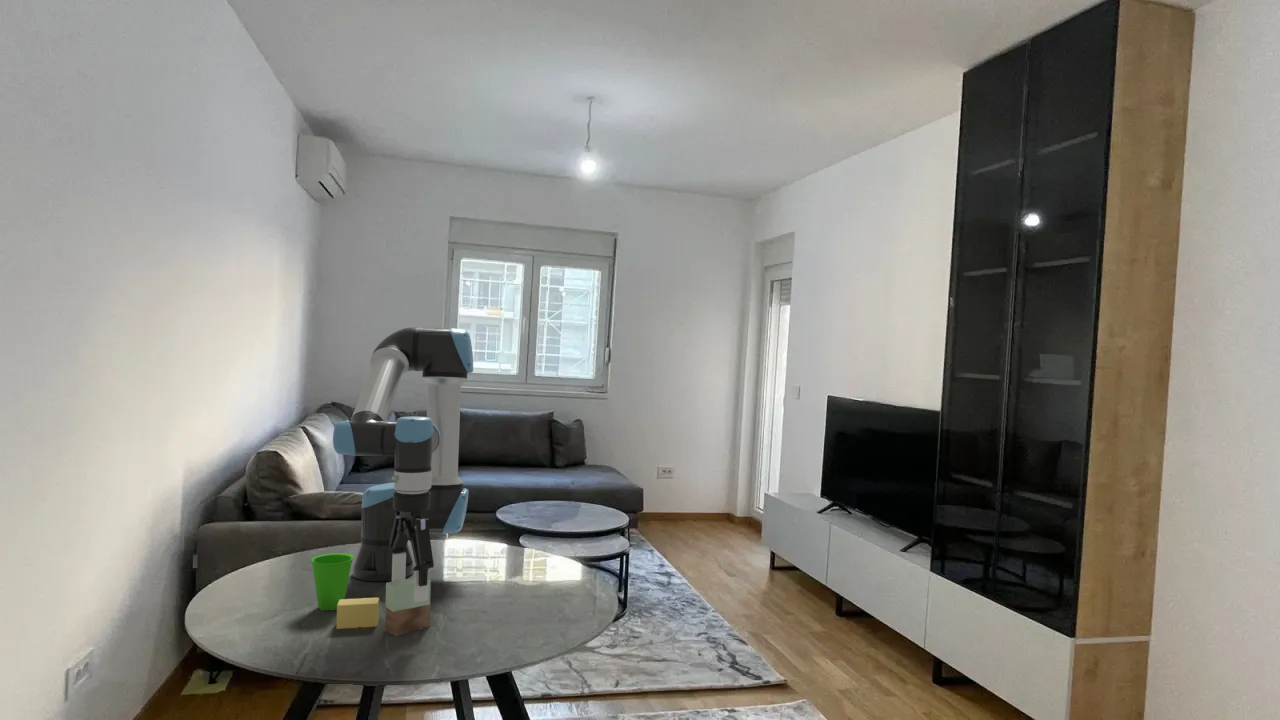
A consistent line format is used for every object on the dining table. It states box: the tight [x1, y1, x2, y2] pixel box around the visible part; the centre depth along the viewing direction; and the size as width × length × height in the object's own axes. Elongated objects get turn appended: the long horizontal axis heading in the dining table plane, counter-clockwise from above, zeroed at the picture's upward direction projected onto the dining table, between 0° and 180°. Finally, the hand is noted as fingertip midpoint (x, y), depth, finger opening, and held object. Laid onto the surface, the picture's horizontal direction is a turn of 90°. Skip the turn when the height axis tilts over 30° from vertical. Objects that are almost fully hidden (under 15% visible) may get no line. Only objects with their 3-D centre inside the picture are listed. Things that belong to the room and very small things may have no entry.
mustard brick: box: [335, 597, 380, 630], centre depth 160 cm, size 8×4×5 cm, turn 105°
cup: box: [310, 552, 355, 612], centre depth 170 cm, size 9×9×11 cm
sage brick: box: [384, 577, 432, 612], centre depth 158 cm, size 8×4×5 cm, turn 132°
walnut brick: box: [385, 602, 432, 637], centre depth 158 cm, size 8×4×5 cm, turn 141°
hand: (409, 592), depth 158 cm, fingers open, 13 cm apart
